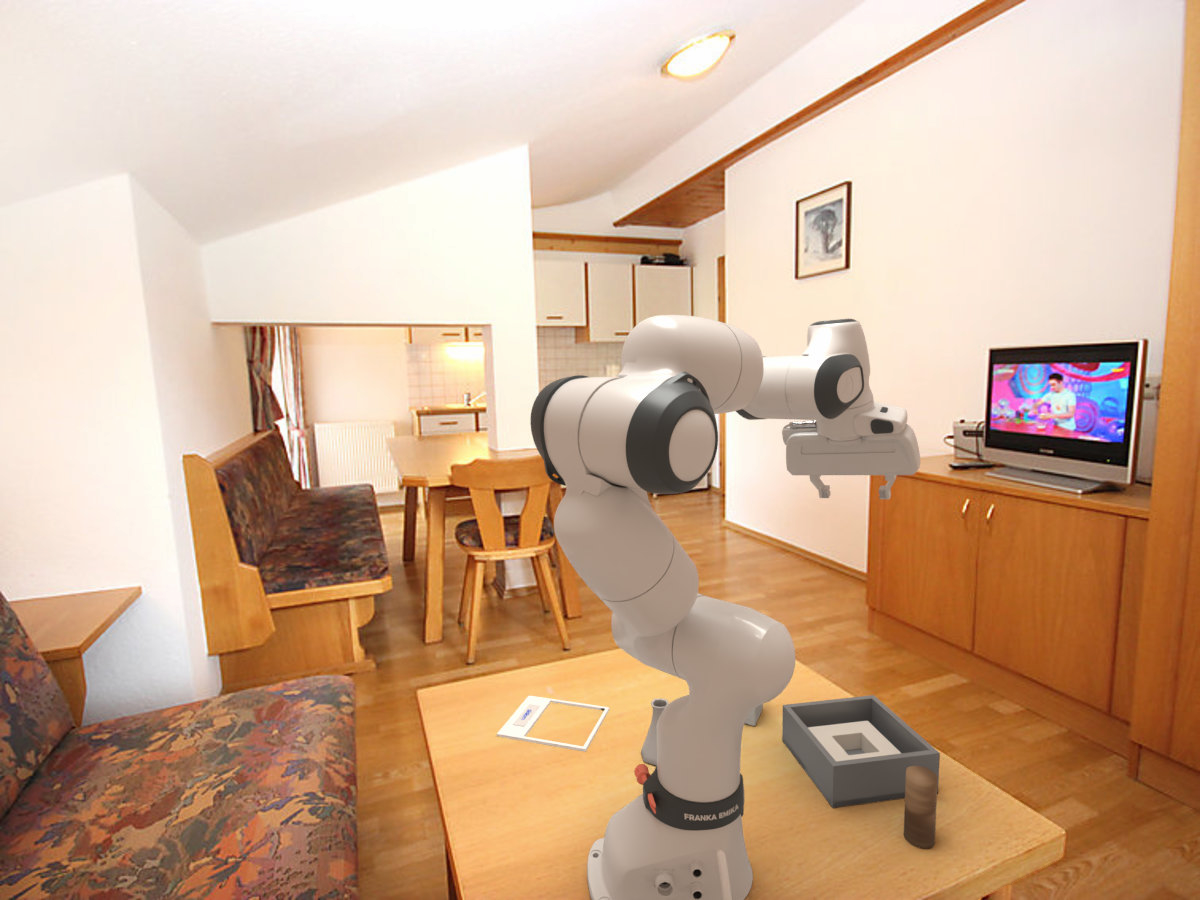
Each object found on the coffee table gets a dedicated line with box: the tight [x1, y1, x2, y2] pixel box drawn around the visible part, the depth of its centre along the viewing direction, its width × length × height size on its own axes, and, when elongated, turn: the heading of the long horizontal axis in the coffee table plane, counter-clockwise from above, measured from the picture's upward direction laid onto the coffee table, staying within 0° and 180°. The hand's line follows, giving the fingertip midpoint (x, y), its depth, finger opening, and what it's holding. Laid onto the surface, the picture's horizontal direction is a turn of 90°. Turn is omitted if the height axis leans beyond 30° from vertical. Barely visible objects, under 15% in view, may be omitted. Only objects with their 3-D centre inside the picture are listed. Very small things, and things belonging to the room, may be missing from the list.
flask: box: [640, 697, 670, 767], centre depth 110 cm, size 7×7×10 cm
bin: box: [781, 694, 941, 809], centre depth 105 cm, size 18×18×7 cm
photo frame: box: [496, 695, 610, 753], centre depth 121 cm, size 15×1×18 cm
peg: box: [903, 766, 938, 850], centre depth 88 cm, size 4×4×10 cm
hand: (854, 497), depth 102 cm, fingers open, 8 cm apart
